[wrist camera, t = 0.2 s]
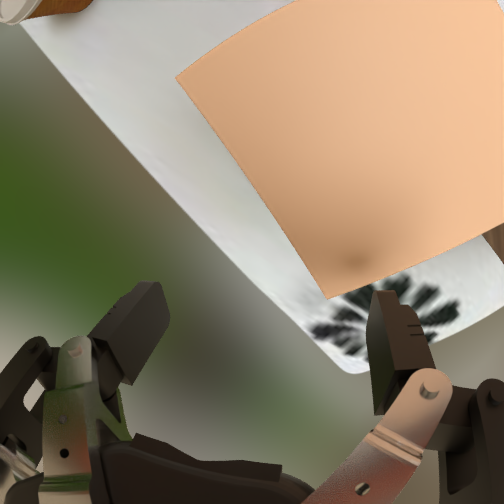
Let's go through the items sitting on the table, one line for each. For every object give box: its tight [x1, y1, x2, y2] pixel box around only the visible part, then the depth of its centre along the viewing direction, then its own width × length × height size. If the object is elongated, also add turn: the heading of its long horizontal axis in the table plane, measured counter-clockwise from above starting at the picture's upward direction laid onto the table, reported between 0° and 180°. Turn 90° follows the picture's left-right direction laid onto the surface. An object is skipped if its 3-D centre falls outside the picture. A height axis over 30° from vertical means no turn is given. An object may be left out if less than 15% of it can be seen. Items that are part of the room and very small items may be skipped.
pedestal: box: [175, 0, 504, 299], centre depth 16 cm, size 14×12×20 cm
